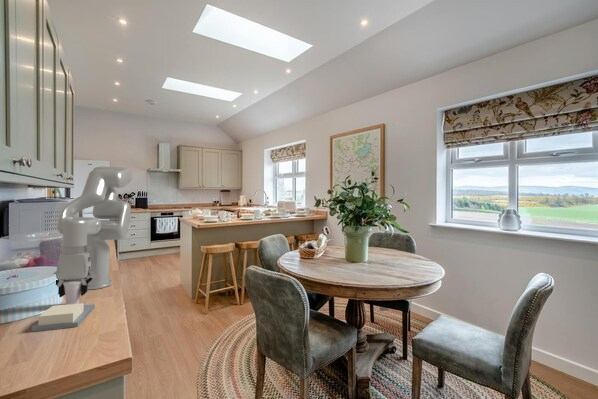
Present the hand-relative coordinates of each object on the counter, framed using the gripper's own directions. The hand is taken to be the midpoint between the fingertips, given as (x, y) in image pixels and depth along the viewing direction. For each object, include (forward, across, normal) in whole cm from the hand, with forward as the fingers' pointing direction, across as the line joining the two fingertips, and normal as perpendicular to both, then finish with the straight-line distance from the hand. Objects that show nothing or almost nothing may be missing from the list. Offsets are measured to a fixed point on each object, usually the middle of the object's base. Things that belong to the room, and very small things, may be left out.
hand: (72, 294), depth 107 cm
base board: (+4, -3, +14) cm, 15 cm away
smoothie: (+4, 0, 0) cm, 4 cm away
